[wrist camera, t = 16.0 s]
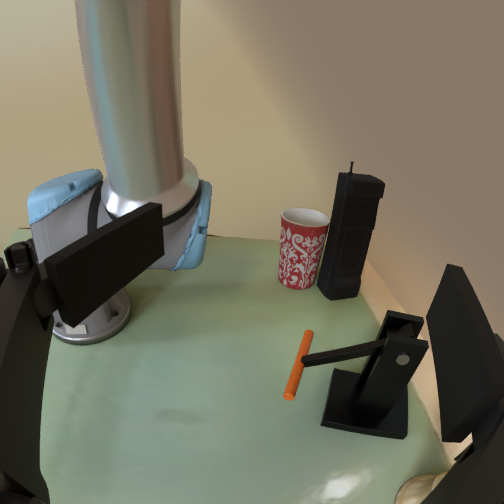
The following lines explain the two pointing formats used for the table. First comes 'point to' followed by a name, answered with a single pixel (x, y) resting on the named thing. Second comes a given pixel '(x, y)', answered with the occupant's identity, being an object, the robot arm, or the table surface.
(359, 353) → the switch lever
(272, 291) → the table surface
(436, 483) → the hand bell
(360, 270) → the portable radio
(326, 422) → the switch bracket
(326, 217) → the mug
